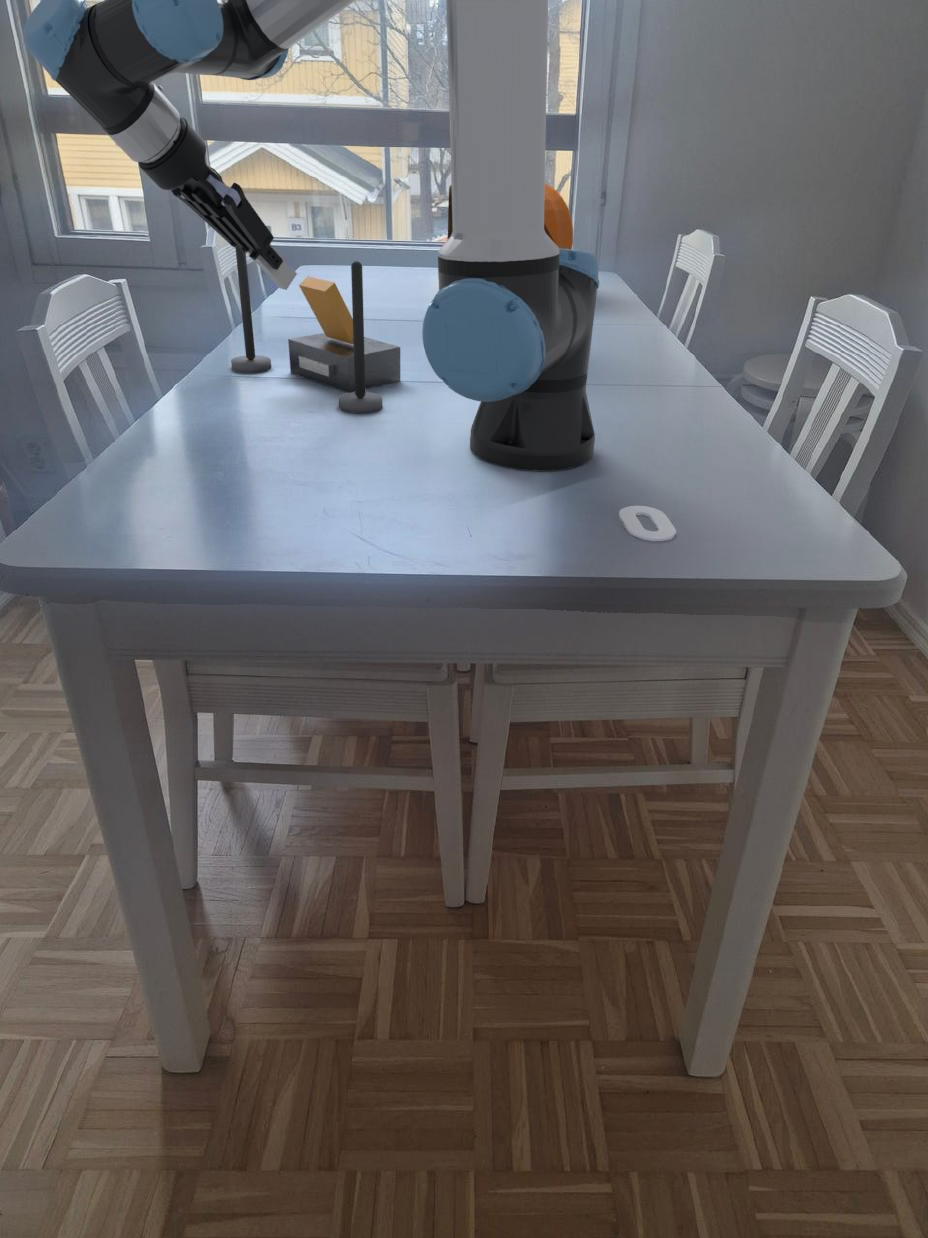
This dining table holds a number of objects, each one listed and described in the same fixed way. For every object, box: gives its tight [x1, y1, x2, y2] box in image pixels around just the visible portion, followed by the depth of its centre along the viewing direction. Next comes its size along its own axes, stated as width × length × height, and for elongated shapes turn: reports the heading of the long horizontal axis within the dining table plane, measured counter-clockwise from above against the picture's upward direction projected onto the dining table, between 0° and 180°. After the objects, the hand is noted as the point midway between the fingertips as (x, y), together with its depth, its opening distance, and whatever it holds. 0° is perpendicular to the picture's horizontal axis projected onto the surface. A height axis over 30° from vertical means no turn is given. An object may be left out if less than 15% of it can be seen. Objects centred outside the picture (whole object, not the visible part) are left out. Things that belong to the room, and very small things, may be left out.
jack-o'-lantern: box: [447, 183, 574, 250], centre depth 185 cm, size 28×28×30 cm
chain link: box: [618, 505, 677, 540], centre depth 85 cm, size 8×1×5 cm
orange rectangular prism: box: [298, 276, 354, 344], centre depth 121 cm, size 2×6×10 cm, turn 47°
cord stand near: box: [337, 260, 383, 414], centre depth 110 cm, size 6×6×19 cm
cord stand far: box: [230, 246, 272, 374], centre depth 125 cm, size 6×6×19 cm
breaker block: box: [288, 332, 401, 393], centre depth 126 cm, size 11×14×5 cm
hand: (288, 280), depth 115 cm, fingers closed
